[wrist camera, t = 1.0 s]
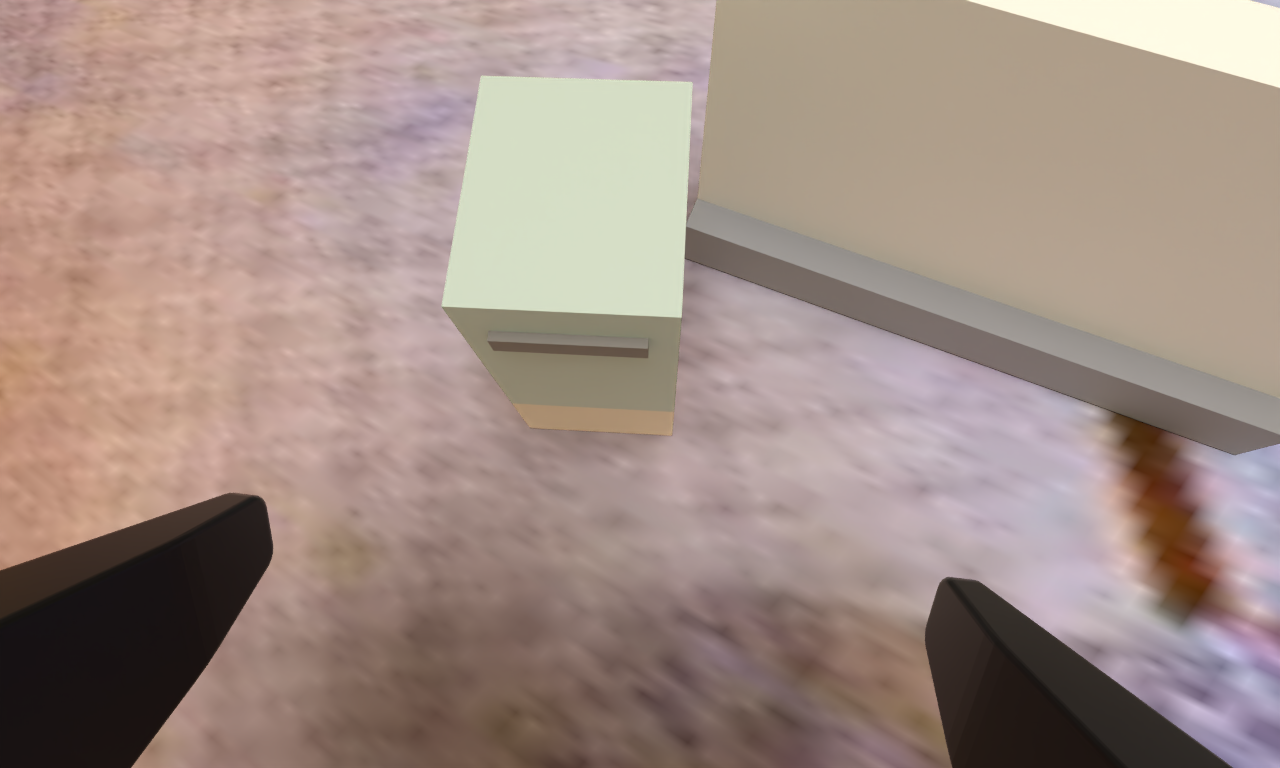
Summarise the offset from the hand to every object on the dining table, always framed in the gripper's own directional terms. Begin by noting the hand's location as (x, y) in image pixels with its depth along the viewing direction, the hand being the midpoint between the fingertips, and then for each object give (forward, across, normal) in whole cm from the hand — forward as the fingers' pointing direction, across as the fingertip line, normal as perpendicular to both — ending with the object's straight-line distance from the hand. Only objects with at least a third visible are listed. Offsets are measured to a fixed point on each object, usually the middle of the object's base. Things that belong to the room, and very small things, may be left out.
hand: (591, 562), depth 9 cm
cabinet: (+15, +2, +3) cm, 16 cm away
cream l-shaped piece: (+19, -12, -2) cm, 23 cm away
